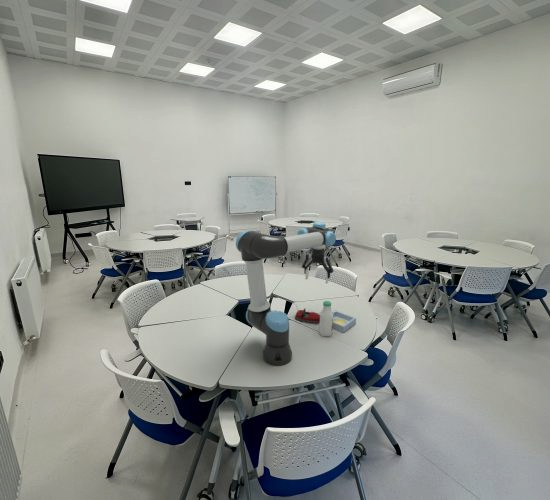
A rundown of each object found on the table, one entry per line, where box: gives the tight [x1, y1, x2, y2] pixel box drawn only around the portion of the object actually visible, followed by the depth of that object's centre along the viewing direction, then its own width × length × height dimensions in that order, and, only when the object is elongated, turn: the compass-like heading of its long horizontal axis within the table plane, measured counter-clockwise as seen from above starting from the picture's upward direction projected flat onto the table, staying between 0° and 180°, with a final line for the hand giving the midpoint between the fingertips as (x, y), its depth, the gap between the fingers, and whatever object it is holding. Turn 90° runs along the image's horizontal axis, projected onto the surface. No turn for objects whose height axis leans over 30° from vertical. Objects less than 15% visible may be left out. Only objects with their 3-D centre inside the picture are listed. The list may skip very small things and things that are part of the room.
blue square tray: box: [332, 310, 357, 334], centre depth 178 cm, size 15×15×4 cm
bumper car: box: [292, 302, 320, 325], centre depth 184 cm, size 10×20×10 cm, turn 67°
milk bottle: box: [318, 300, 334, 337], centre depth 166 cm, size 8×8×20 cm
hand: (316, 280), depth 177 cm, fingers open, 13 cm apart
